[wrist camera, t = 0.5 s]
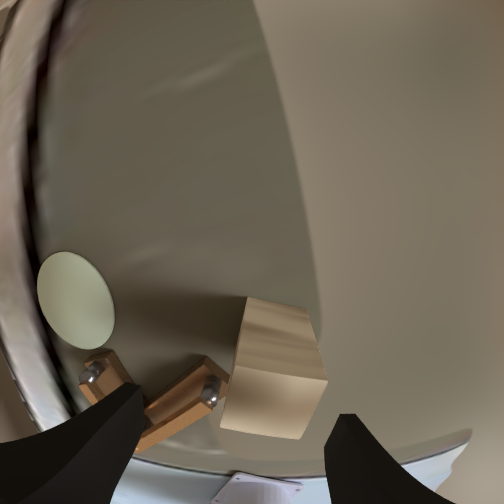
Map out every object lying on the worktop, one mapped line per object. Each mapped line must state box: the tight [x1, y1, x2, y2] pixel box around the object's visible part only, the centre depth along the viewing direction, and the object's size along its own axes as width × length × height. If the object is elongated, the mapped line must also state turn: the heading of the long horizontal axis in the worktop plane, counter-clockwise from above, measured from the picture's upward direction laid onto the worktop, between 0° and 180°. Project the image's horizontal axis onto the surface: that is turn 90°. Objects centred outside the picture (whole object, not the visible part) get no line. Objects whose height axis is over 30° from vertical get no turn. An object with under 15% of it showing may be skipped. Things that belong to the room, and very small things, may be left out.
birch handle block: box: [220, 297, 328, 439], centre depth 15 cm, size 4×4×8 cm
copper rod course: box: [78, 350, 230, 453], centre depth 19 cm, size 12×12×4 cm
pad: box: [37, 251, 115, 349], centre depth 20 cm, size 8×8×1 cm
